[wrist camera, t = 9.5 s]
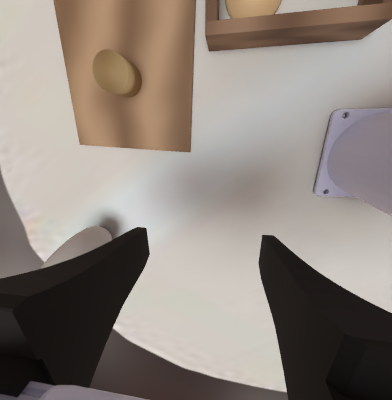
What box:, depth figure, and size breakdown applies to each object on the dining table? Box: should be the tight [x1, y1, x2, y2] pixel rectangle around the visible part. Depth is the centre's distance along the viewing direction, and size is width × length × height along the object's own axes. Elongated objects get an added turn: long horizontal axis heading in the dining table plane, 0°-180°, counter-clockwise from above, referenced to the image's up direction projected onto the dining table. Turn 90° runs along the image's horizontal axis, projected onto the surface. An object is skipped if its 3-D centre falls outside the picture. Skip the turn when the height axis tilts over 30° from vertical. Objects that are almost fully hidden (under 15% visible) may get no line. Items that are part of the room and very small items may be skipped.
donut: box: [40, 226, 112, 269], centre depth 22 cm, size 10×4×10 cm, turn 145°
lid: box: [54, 0, 196, 152], centre depth 17 cm, size 13×13×4 cm
